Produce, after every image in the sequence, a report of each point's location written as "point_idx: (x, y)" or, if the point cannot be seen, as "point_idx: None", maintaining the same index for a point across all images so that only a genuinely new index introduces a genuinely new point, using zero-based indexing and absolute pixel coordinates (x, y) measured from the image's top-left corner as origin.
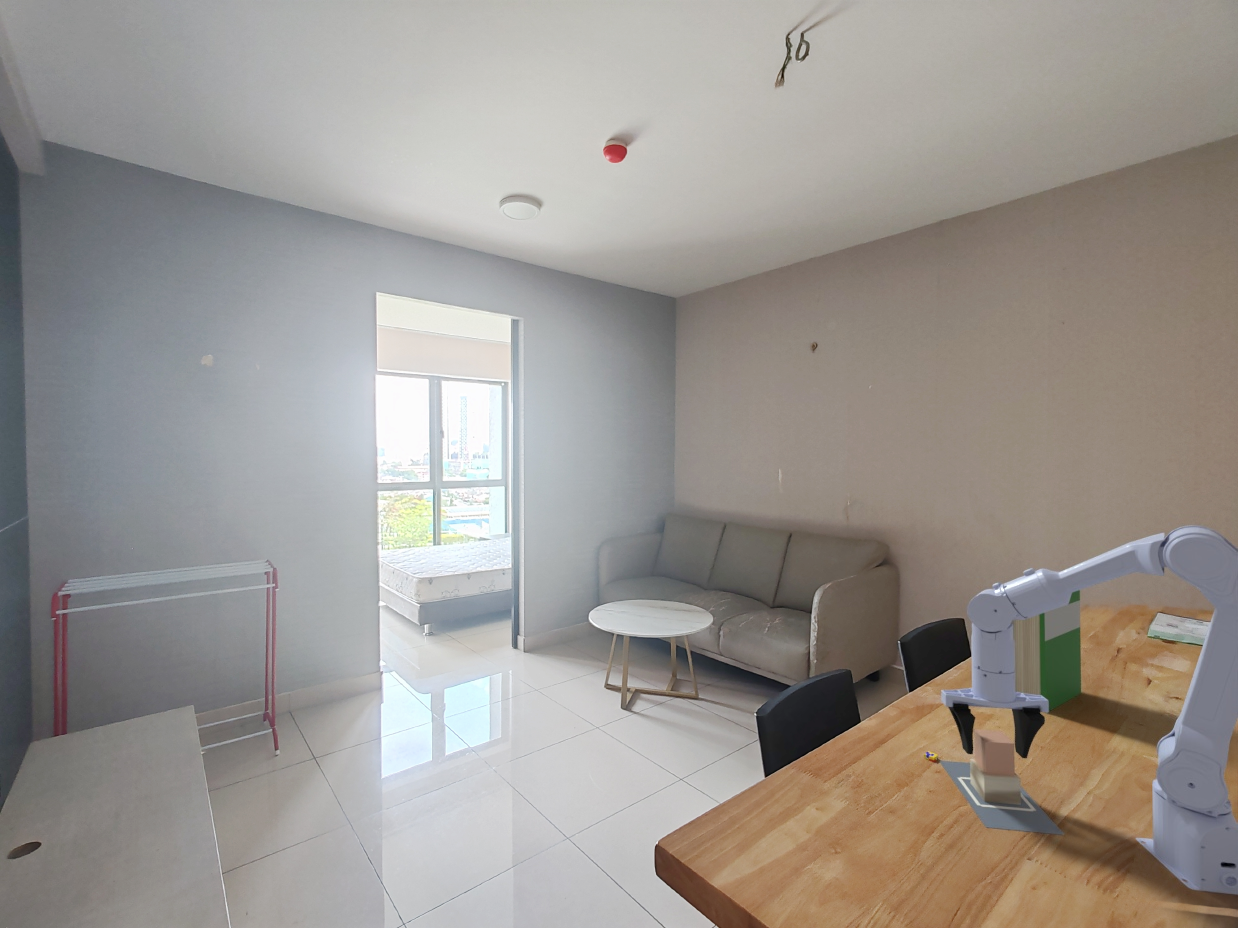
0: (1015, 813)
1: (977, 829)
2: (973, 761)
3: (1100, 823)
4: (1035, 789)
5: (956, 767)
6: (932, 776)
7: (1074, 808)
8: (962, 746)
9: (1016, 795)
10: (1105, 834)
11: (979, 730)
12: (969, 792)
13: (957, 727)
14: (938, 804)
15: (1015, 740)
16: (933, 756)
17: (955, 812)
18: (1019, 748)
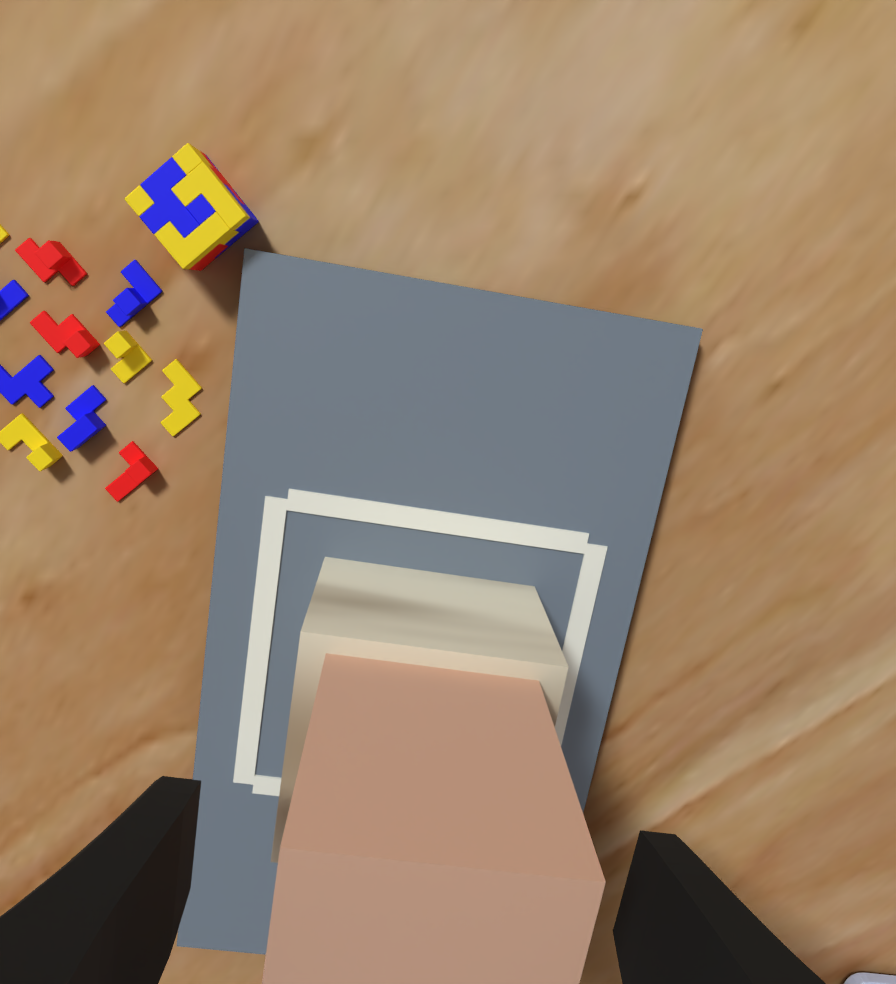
0: None
1: None
2: (304, 672)
3: (812, 853)
4: (725, 573)
5: (333, 358)
6: (121, 426)
7: (793, 744)
8: (149, 787)
9: None
10: None
11: (335, 867)
12: (254, 664)
13: (25, 897)
14: (26, 726)
15: (682, 898)
16: (193, 242)
17: (95, 792)
18: (643, 940)
